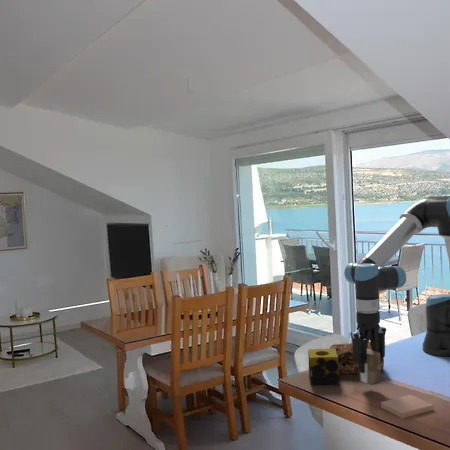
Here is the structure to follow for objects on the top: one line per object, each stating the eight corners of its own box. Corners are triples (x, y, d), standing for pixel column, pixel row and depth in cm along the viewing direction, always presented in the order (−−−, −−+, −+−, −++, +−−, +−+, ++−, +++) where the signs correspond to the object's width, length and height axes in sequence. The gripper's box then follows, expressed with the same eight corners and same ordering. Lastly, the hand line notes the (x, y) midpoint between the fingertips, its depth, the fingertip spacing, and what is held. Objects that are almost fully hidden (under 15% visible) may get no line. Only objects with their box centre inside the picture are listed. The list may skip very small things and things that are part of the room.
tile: (410, 394, 160) (433, 404, 152) (410, 401, 160) (433, 411, 152) (380, 402, 155) (402, 413, 147) (380, 408, 155) (402, 419, 147)
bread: (379, 365, 193) (379, 339, 192) (384, 375, 182) (384, 348, 182) (329, 365, 195) (329, 340, 195) (332, 375, 185) (331, 348, 184)
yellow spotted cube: (336, 375, 184) (336, 348, 184) (340, 385, 174) (339, 356, 174) (308, 375, 185) (307, 348, 185) (310, 385, 175) (309, 357, 175)
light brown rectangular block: (368, 377, 172) (367, 348, 171) (381, 382, 166) (380, 352, 166) (359, 379, 170) (358, 350, 170) (371, 385, 165) (370, 355, 164)
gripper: (354, 316, 160) (357, 389, 161) (395, 309, 167) (397, 378, 169) (339, 312, 167) (342, 382, 168) (379, 305, 174) (381, 372, 175)
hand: (370, 380), depth 168 cm, fingers closed on light brown rectangular block, 4 cm apart
